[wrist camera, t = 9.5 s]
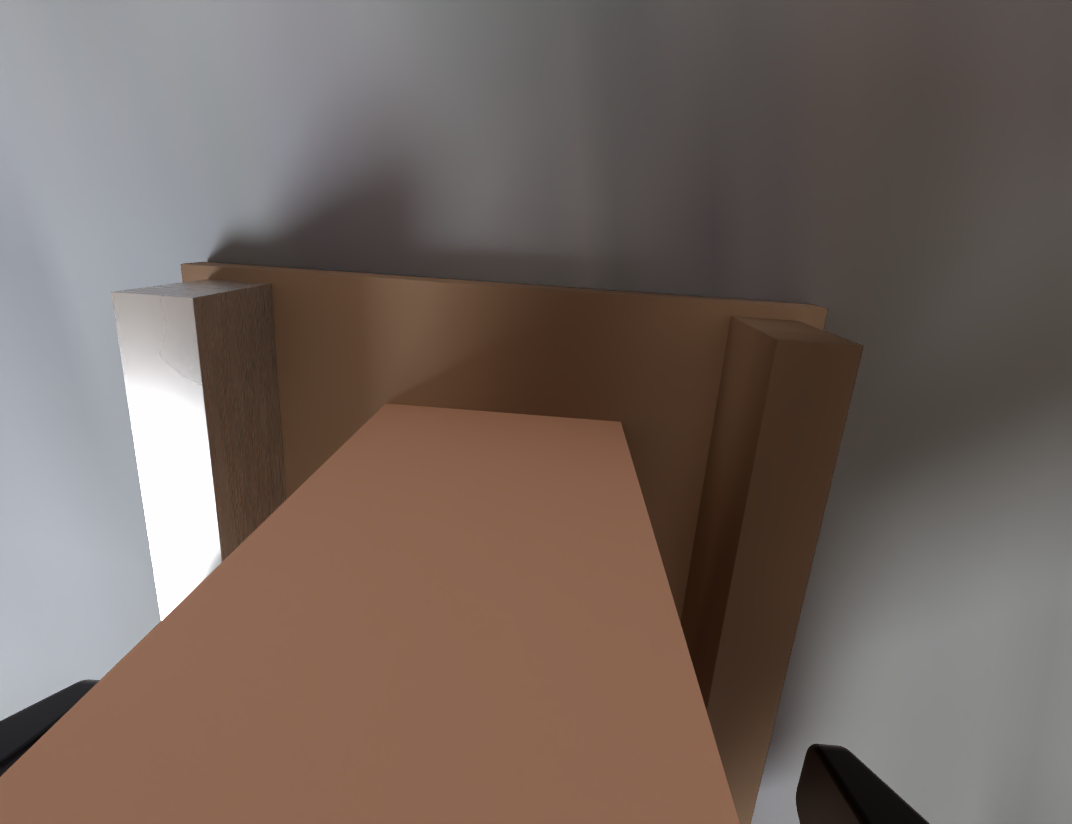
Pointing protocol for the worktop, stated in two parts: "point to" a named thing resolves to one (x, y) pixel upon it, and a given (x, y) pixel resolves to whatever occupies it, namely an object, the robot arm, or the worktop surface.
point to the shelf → (521, 388)
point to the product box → (410, 653)
